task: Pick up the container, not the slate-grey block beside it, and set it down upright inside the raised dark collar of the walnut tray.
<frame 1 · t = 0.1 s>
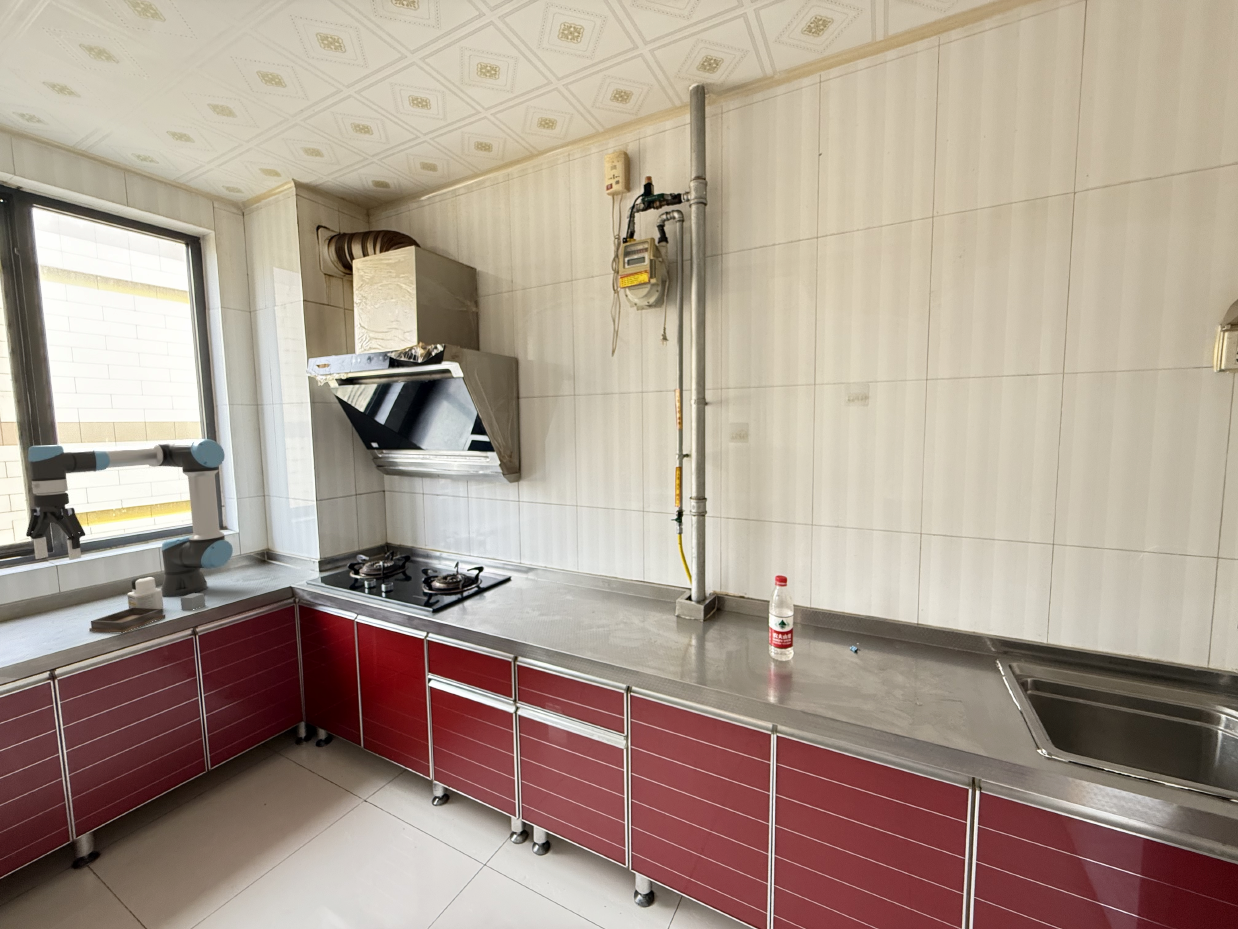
hand: (58, 558, 165), 28 cm above the counter, tool pointing down, fingers open, 13 cm apart
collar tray: (128, 624, 182), on the counter
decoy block: (193, 608, 197), on the counter
container: (146, 611, 195), on the counter
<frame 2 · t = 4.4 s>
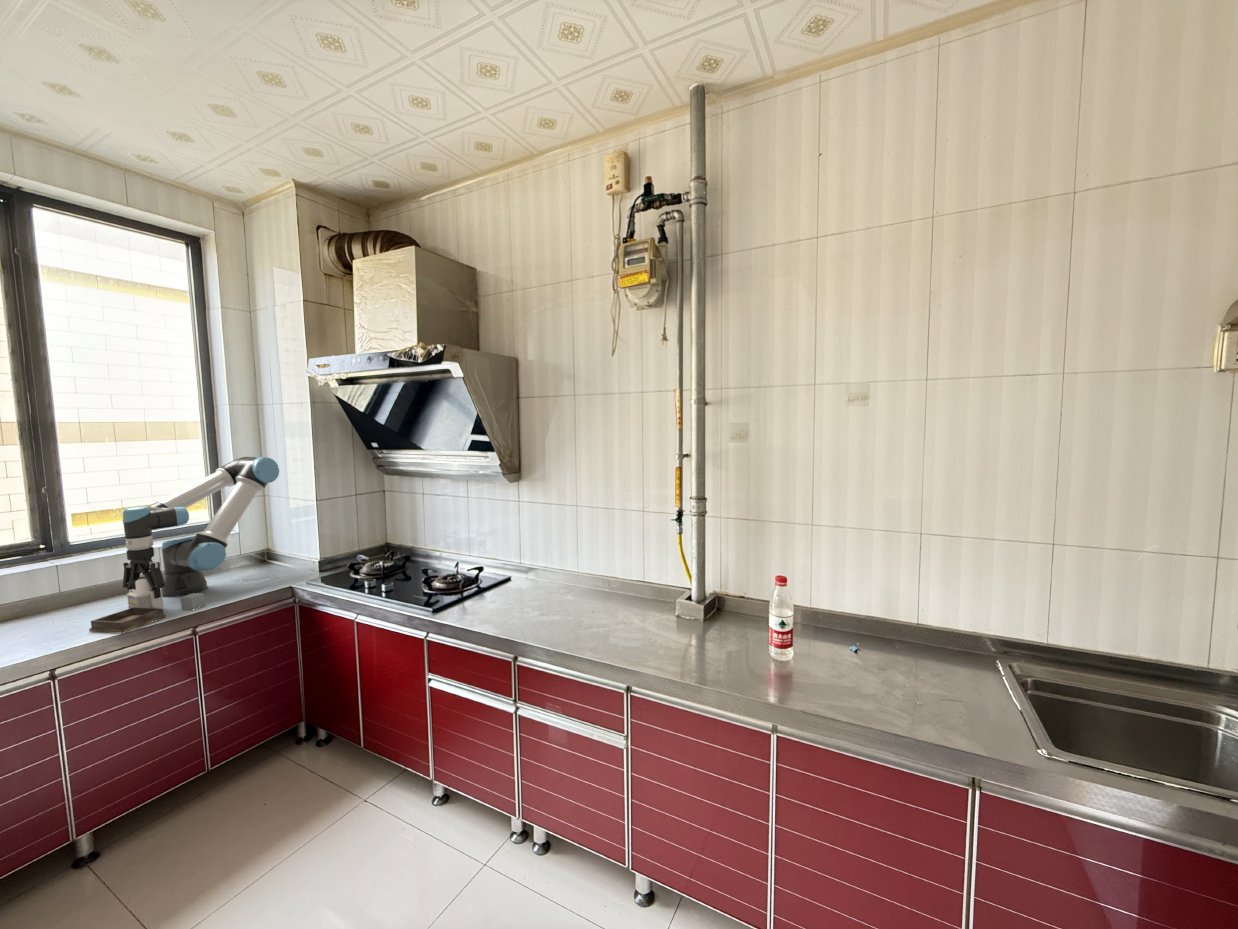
hand: (145, 605, 195), 2 cm above the counter, tool pointing down, fingers closed on container, 9 cm apart
container: (146, 611, 195), on the counter, touching gripper
everything else where it was.
when the fingers open (4 cm above the counter, at t = 10.4 s): container drops 1 cm, resting on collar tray.
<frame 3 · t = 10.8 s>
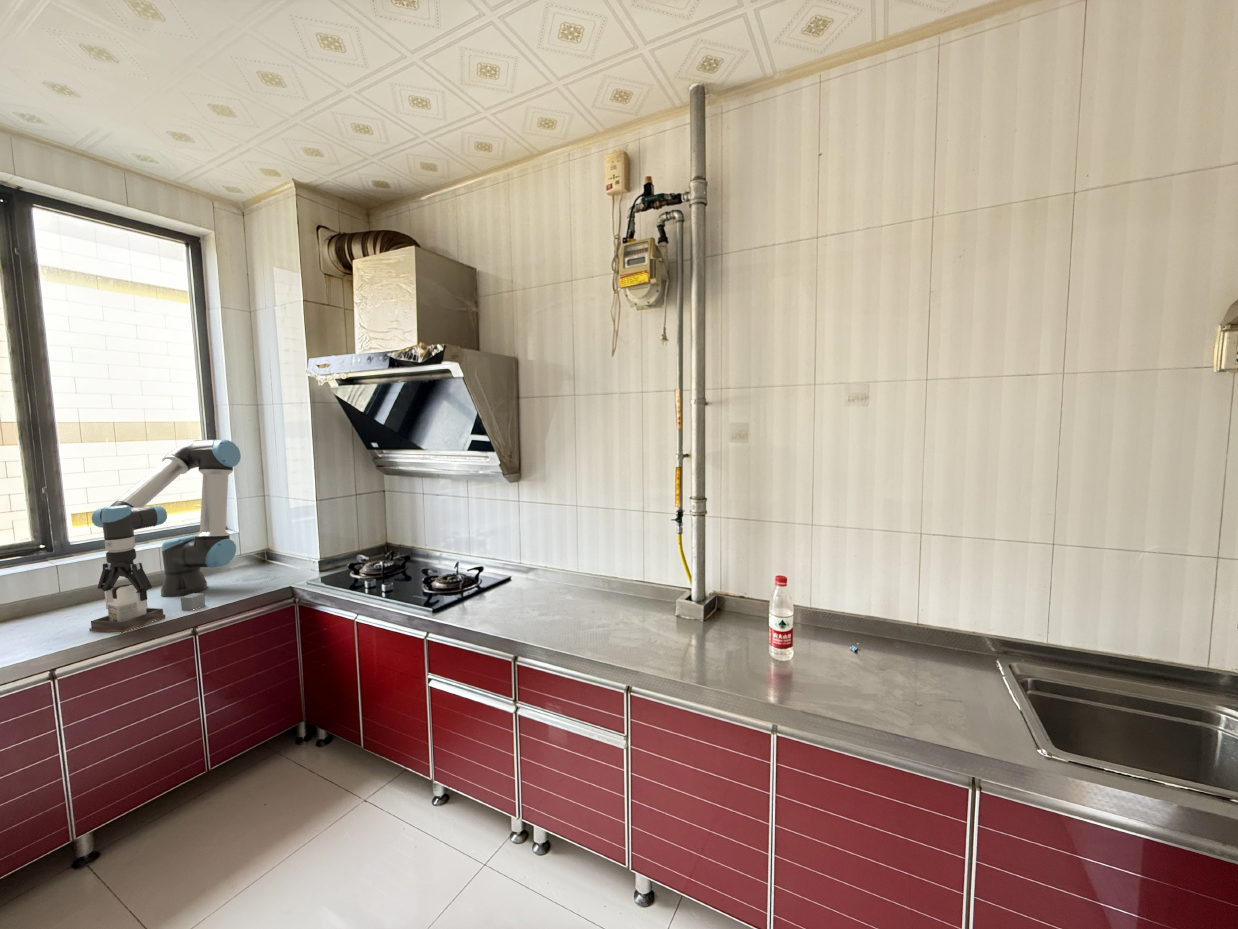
hand: (127, 608, 181), 6 cm above the counter, tool pointing down, fingers open, 13 cm apart
container: (128, 622, 182), point 1 cm above the counter, touching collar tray
everything else where it was.
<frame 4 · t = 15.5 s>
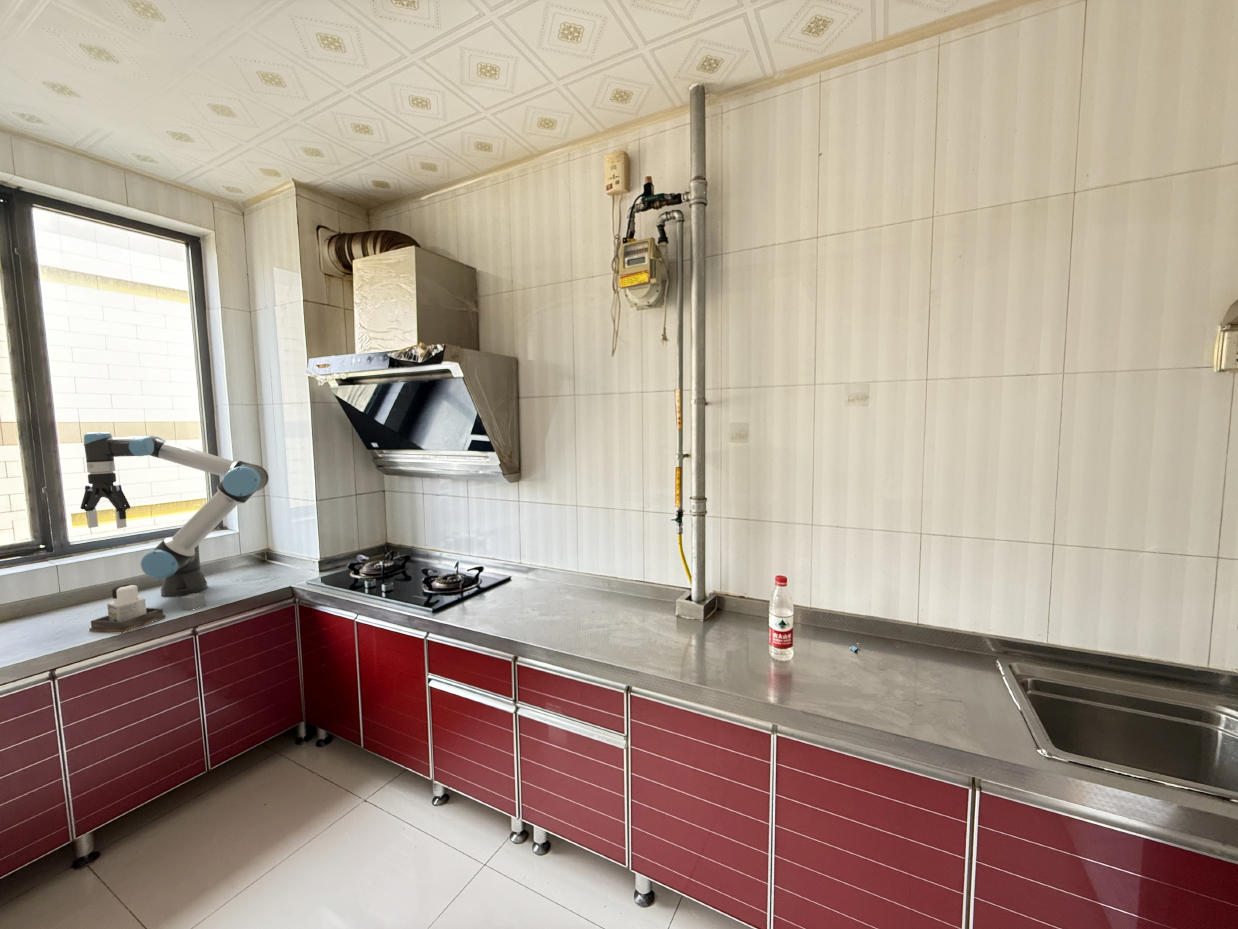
hand: (107, 527, 197), 32 cm above the counter, tool pointing down, fingers open, 13 cm apart
nothing on the counter moved.
at the end: container 0.0 cm off-centre on the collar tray, point 0.8 cm above the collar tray's base; container tilted 0°; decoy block moved 0.1 cm from its start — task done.
